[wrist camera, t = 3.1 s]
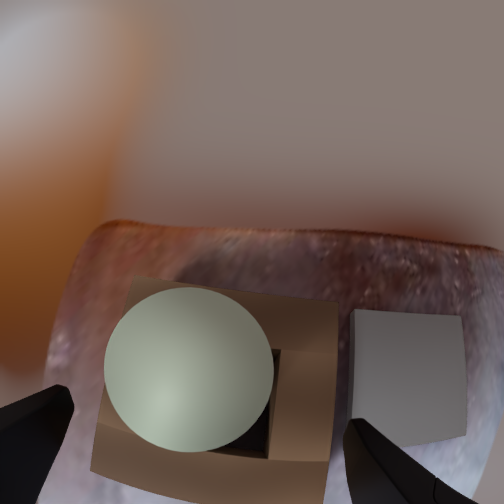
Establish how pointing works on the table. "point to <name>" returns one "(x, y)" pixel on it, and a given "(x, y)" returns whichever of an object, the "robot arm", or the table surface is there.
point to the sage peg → (188, 369)
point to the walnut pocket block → (277, 423)
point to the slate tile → (408, 375)
